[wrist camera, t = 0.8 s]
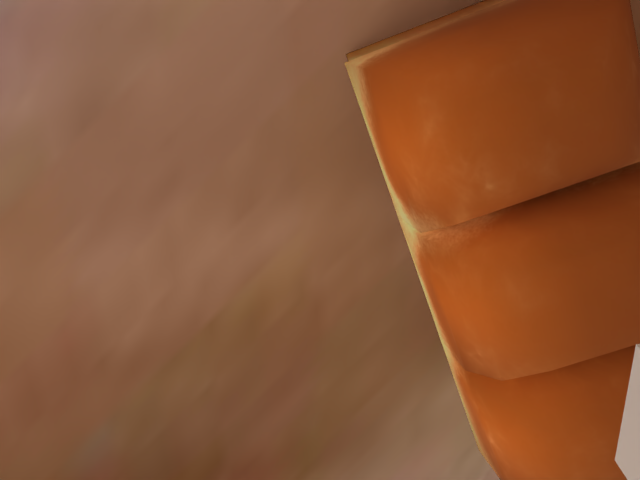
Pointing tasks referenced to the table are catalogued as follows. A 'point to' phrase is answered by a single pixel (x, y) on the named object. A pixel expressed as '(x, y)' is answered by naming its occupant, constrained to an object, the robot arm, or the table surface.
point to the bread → (521, 215)
